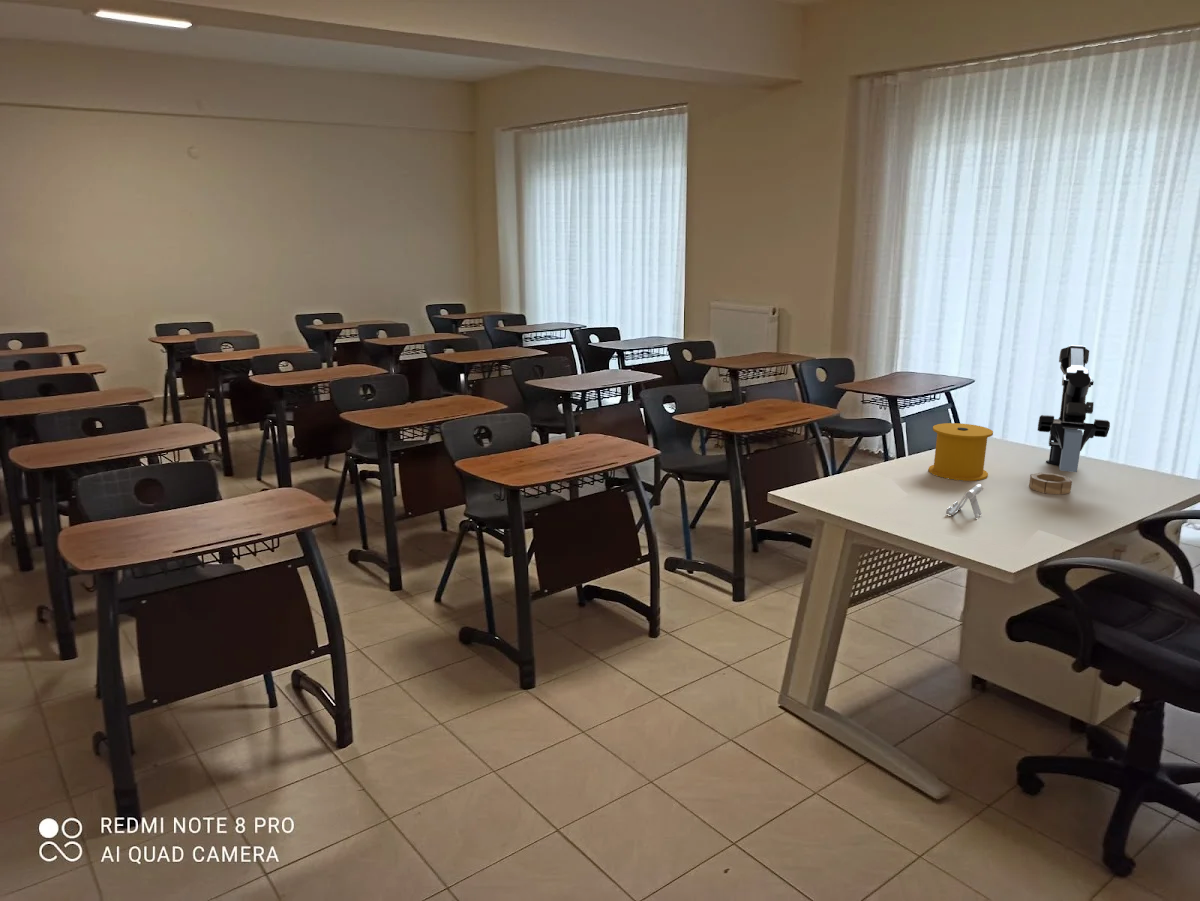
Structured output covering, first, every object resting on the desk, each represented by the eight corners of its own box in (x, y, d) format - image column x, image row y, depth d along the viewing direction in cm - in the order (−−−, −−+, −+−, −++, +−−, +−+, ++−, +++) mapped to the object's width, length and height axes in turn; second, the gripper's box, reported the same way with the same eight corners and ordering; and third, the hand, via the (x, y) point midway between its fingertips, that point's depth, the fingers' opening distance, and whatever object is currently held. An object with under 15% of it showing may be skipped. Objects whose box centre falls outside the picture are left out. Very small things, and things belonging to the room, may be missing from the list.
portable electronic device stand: (955, 508, 242) (958, 480, 240) (984, 514, 237) (987, 485, 235) (945, 516, 236) (948, 487, 234) (974, 522, 231) (978, 493, 229)
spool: (997, 481, 267) (1003, 435, 264) (940, 481, 268) (945, 435, 264) (974, 465, 285) (979, 422, 281) (920, 465, 285) (924, 422, 281)
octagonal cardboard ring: (1022, 486, 262) (1023, 475, 261) (1045, 481, 267) (1046, 471, 266) (1054, 496, 253) (1055, 484, 252) (1077, 491, 257) (1078, 480, 256)
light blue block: (1059, 466, 259) (1064, 428, 255) (1076, 468, 257) (1081, 430, 254) (1059, 470, 255) (1065, 431, 252) (1076, 472, 253) (1082, 433, 250)
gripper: (1043, 389, 257) (1039, 432, 250) (1114, 394, 249) (1112, 438, 242) (1039, 409, 266) (1035, 451, 259) (1107, 414, 258) (1105, 458, 251)
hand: (1071, 449), depth 253 cm, fingers closed on light blue block, 4 cm apart
